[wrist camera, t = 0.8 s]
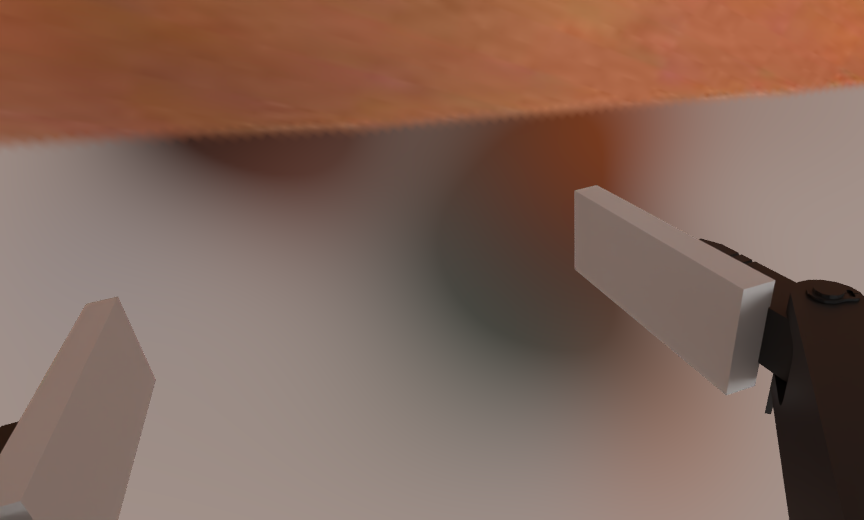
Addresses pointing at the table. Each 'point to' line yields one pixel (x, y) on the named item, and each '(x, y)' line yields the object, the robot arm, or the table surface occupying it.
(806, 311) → the robot arm
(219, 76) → the table surface
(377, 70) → the table surface
